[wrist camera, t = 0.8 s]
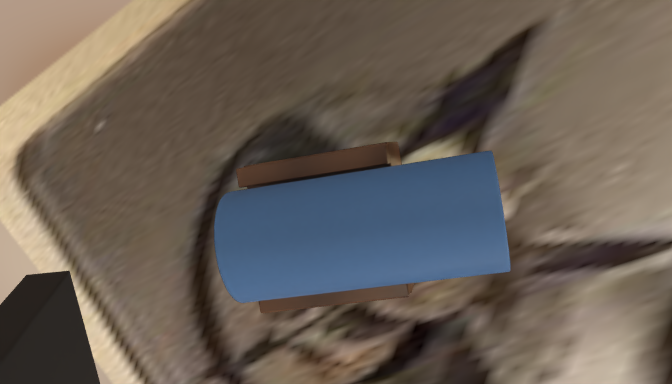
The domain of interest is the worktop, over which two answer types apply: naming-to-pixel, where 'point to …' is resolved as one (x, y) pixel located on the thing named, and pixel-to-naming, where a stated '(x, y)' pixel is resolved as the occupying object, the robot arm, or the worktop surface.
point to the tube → (363, 229)
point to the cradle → (318, 168)
